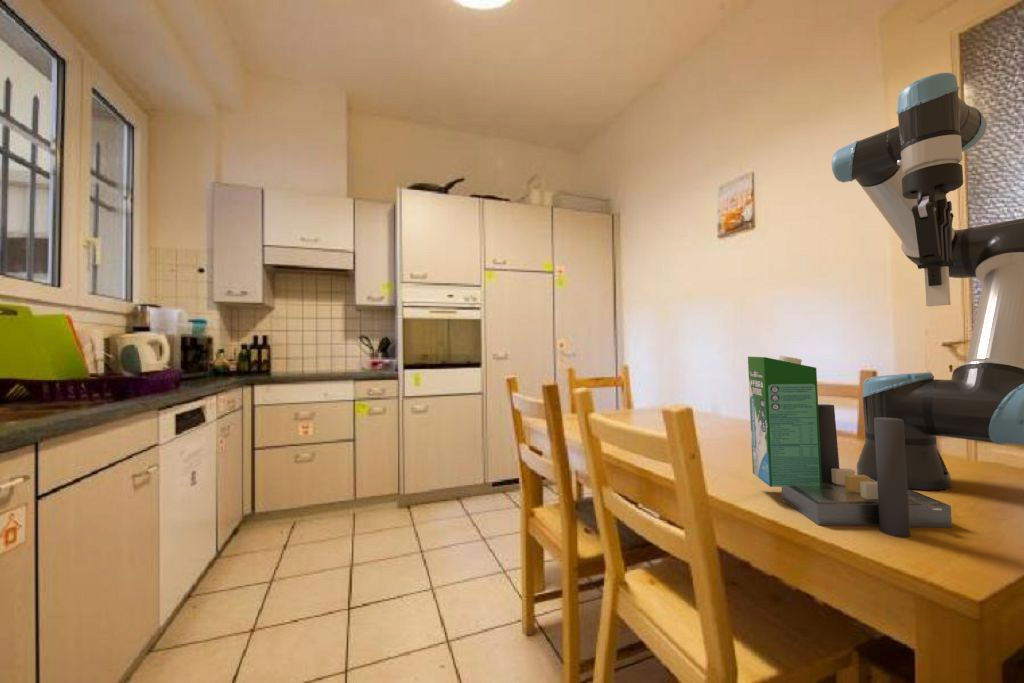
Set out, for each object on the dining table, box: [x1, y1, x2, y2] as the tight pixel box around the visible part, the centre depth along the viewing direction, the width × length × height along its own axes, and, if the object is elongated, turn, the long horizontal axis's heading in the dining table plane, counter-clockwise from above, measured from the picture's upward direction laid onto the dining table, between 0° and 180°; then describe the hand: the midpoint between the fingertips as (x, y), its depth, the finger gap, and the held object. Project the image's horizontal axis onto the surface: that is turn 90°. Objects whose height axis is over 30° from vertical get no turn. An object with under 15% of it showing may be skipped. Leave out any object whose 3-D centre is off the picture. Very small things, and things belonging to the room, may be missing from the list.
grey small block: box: [831, 468, 856, 484], centre depth 80 cm, size 3×1×2 cm, turn 83°
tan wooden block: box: [845, 474, 870, 491], centre depth 76 cm, size 3×1×2 cm, turn 83°
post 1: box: [818, 403, 840, 482], centre depth 85 cm, size 4×4×18 cm
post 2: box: [874, 417, 911, 538], centre depth 68 cm, size 4×4×18 cm
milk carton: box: [747, 355, 822, 488], centre depth 85 cm, size 9×9×25 cm
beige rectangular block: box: [860, 482, 878, 499], centre depth 72 cm, size 3×1×2 cm, turn 83°
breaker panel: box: [781, 479, 953, 529], centre depth 76 cm, size 20×16×4 cm
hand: (938, 305), depth 73 cm, fingers closed
